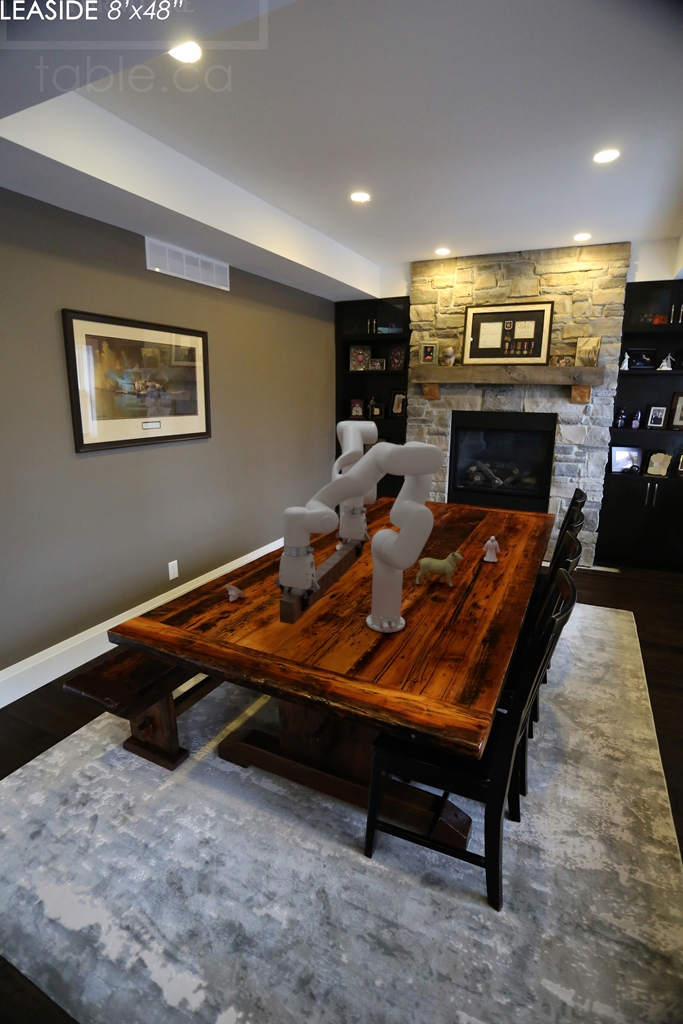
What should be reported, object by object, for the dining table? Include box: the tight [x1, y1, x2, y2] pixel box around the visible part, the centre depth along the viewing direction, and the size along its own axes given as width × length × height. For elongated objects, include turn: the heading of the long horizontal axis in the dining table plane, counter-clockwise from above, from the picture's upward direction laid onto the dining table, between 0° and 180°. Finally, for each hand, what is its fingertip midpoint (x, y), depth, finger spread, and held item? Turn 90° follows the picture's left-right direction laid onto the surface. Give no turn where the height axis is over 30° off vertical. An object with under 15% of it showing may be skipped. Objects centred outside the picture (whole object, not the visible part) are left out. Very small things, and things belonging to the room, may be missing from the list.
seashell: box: [224, 584, 247, 602], centre depth 178 cm, size 8×5×8 cm
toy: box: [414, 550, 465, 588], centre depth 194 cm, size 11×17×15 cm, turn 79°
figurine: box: [482, 535, 501, 563], centre depth 223 cm, size 8×8×12 cm
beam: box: [279, 539, 364, 625], centre depth 173 cm, size 67×4×7 cm, turn 161°
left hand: (352, 554), depth 197 cm, fingers closed on beam, 4 cm apart
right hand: (297, 607), depth 149 cm, fingers closed on beam, 4 cm apart
